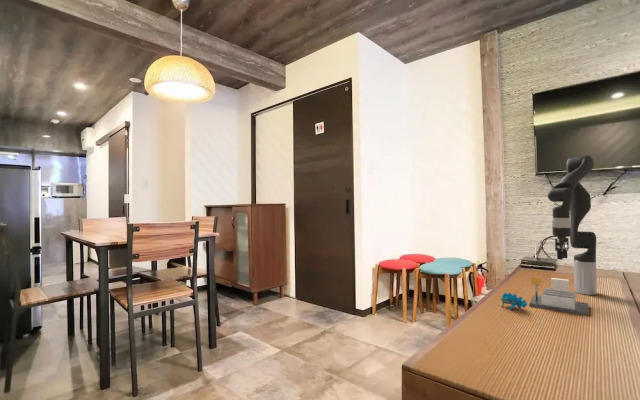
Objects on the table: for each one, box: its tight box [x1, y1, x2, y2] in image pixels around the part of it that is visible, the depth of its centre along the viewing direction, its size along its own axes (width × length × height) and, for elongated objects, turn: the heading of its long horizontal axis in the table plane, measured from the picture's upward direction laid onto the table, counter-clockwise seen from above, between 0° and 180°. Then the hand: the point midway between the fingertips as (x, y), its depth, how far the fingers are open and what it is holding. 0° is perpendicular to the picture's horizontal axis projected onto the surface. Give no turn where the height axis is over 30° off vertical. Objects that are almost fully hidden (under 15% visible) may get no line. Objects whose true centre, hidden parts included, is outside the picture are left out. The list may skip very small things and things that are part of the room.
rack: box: [528, 276, 590, 317], centre depth 148 cm, size 17×21×12 cm
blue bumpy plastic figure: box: [500, 292, 528, 311], centre depth 144 cm, size 11×6×10 cm
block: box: [550, 277, 570, 291], centre depth 160 cm, size 2×7×10 cm, turn 50°
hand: (562, 258), depth 160 cm, fingers open, 8 cm apart
